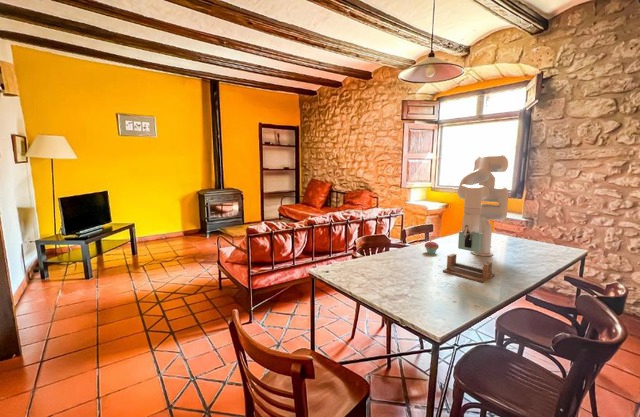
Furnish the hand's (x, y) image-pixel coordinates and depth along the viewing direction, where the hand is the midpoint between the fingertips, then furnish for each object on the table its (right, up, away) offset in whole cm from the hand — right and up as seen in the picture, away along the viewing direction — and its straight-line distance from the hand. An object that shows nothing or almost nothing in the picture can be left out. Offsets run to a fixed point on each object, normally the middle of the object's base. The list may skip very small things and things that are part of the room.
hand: (469, 246), depth 152 cm
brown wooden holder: (0, -15, +2) cm, 15 cm away
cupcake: (-5, -9, +39) cm, 41 cm away
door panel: (0, -2, 0) cm, 2 cm away
